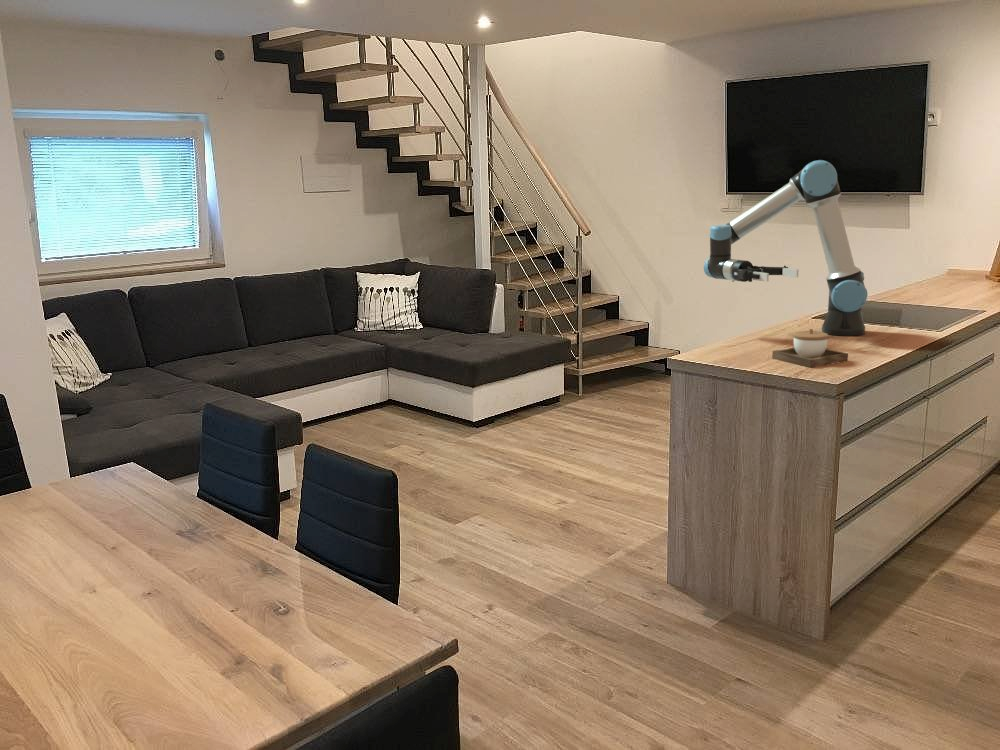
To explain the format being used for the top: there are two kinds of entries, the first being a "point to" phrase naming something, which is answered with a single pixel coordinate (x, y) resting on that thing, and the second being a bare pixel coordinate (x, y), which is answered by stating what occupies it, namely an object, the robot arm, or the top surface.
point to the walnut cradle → (794, 358)
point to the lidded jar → (810, 343)
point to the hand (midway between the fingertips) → (782, 275)
